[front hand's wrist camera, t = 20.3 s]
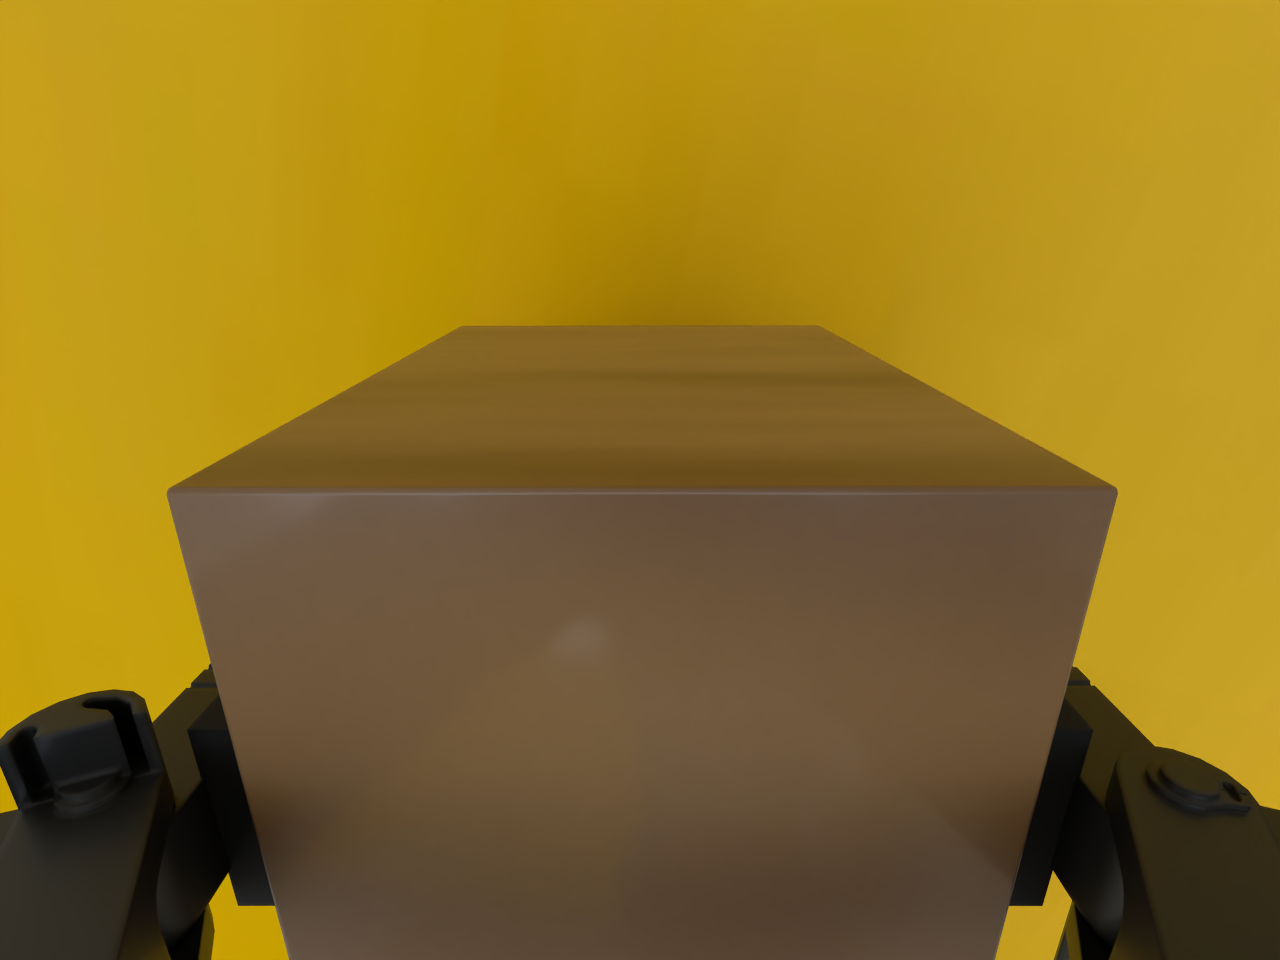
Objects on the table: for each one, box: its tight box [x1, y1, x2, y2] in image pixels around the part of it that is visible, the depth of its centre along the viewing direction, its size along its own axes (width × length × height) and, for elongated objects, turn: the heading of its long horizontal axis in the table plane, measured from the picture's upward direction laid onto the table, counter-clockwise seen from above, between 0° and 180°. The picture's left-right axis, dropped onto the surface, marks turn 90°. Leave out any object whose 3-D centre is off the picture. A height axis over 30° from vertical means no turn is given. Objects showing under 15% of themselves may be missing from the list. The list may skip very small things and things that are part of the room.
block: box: [167, 326, 1118, 960], centre depth 12 cm, size 9×8×11 cm
